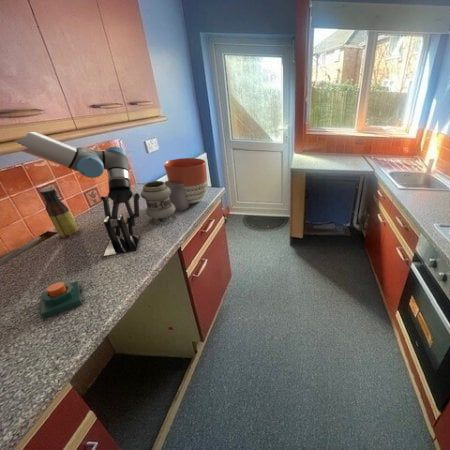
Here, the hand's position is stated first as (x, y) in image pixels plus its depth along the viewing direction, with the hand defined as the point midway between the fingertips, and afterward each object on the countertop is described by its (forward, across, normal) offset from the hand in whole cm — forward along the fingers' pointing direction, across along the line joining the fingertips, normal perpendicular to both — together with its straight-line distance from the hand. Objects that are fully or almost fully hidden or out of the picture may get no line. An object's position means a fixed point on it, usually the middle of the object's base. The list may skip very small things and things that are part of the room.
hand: (124, 234), depth 99 cm
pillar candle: (-17, -20, -20) cm, 33 cm away
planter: (-21, -26, -25) cm, 42 cm away
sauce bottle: (-6, +21, -10) cm, 24 cm away
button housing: (+24, +11, +20) cm, 34 cm away
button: (+22, +11, +23) cm, 34 cm away
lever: (-2, 0, +5) cm, 5 cm away
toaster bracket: (+6, 0, +3) cm, 7 cm away
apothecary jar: (-8, -13, -11) cm, 19 cm away
